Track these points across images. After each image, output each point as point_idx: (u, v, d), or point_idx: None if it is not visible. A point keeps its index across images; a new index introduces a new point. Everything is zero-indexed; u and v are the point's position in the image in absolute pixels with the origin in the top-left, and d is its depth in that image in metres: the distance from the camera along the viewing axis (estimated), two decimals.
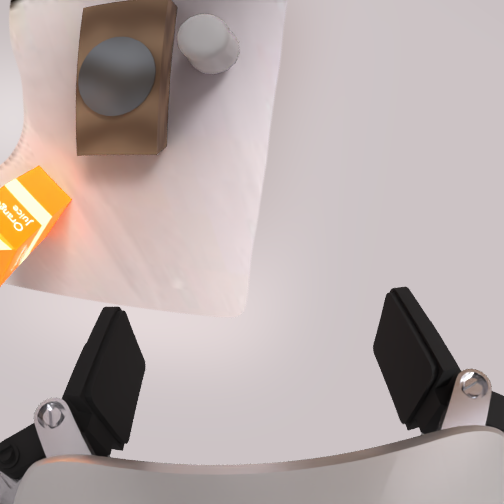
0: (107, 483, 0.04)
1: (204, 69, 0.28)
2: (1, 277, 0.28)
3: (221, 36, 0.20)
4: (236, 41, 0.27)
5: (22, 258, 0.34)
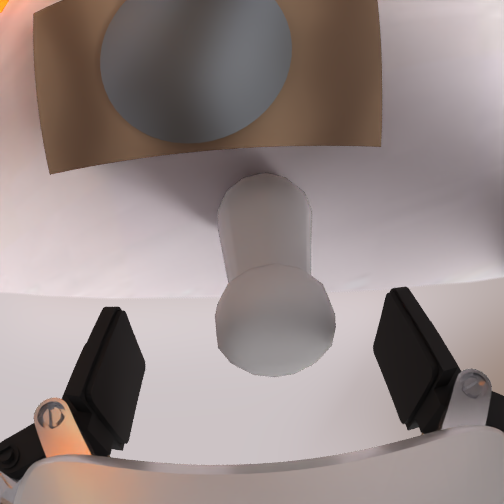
0: (107, 483, 0.04)
1: (220, 228, 0.17)
2: None
3: (275, 375, 0.11)
4: None
5: None
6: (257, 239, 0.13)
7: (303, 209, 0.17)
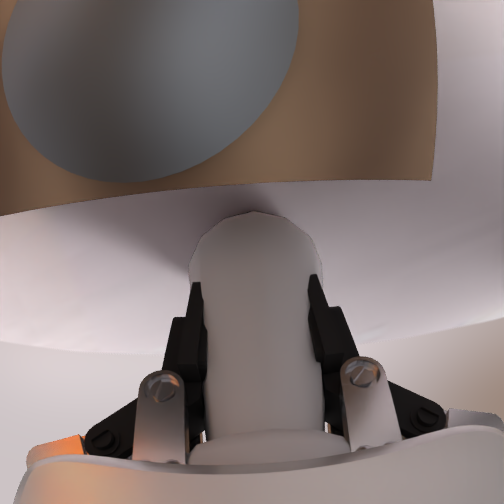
0: (107, 483, 0.04)
1: None
2: None
3: None
4: None
5: None
6: (242, 351, 0.08)
7: (312, 273, 0.11)
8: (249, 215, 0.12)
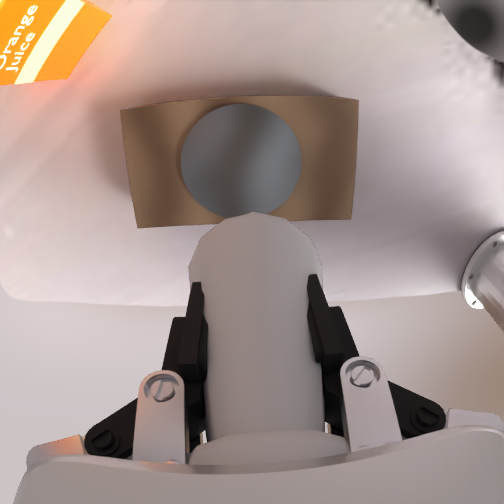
0: (107, 483, 0.04)
1: None
2: None
3: None
4: None
5: None
6: (243, 353, 0.08)
7: None
8: (249, 216, 0.12)
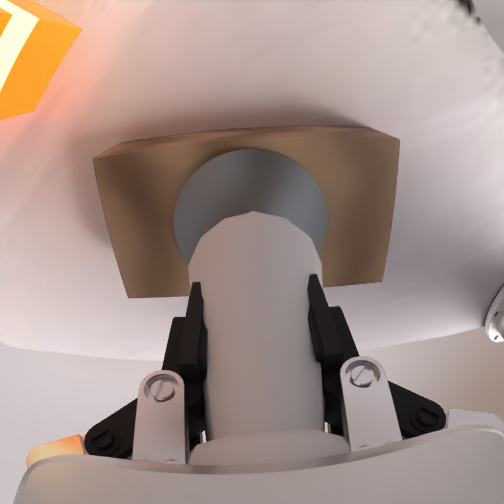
0: (107, 483, 0.04)
1: None
2: None
3: None
4: None
5: None
6: (242, 352, 0.08)
7: None
8: (249, 215, 0.12)
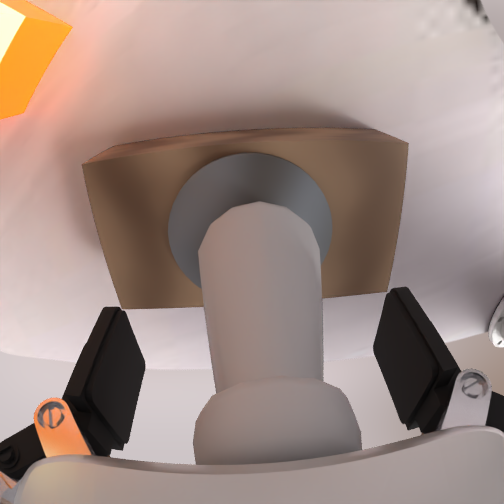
0: (107, 483, 0.04)
1: None
2: None
3: None
4: None
5: None
6: (251, 317, 0.09)
7: (311, 255, 0.12)
8: (254, 204, 0.14)
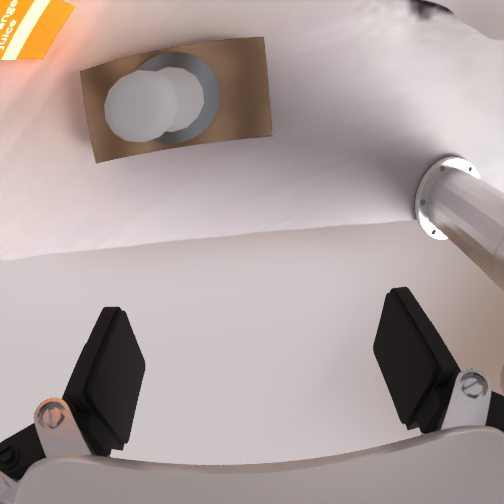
0: (107, 483, 0.04)
1: None
2: None
3: (139, 134, 0.16)
4: (182, 127, 0.24)
5: None
6: None
7: (187, 78, 0.21)
8: (165, 68, 0.22)
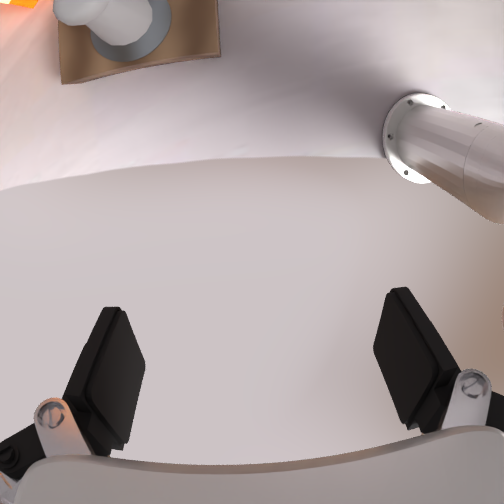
0: (107, 483, 0.04)
1: None
2: None
3: (73, 14, 0.14)
4: (129, 37, 0.22)
5: None
6: None
7: None
8: None
